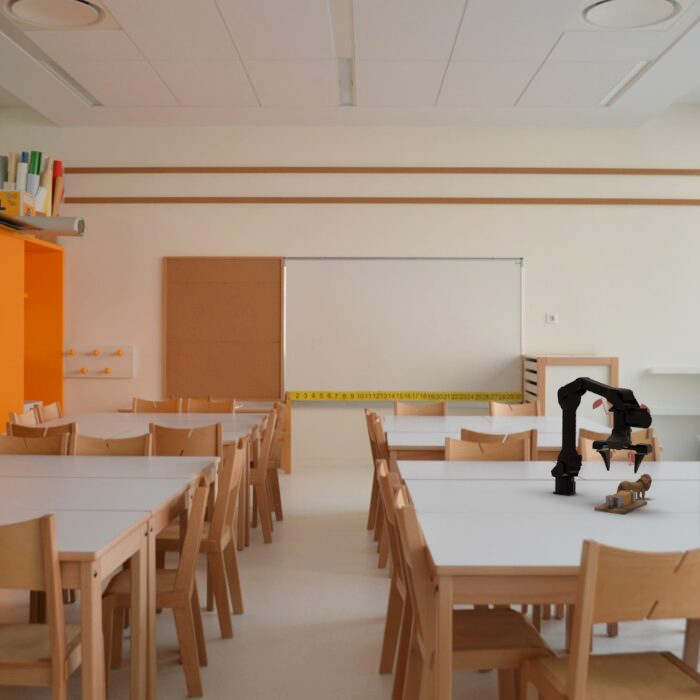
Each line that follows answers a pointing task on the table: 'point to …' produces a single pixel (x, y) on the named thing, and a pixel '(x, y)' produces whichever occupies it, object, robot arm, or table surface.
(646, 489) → the lion figurine
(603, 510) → the board
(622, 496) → the hammer
